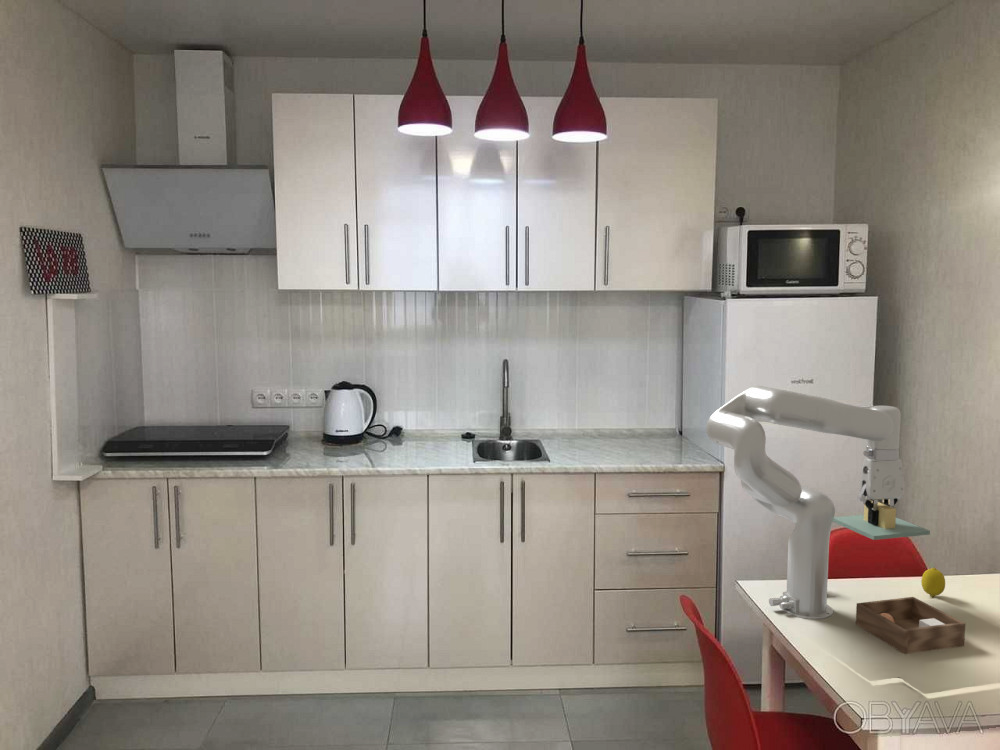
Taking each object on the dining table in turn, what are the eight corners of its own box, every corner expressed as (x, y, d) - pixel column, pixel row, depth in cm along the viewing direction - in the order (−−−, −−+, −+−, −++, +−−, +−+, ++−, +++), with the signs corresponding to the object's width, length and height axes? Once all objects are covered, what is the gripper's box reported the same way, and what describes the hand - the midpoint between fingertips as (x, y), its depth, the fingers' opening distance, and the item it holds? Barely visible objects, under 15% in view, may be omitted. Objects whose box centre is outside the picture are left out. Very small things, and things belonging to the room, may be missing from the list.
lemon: (915, 595, 210) (917, 566, 209) (930, 591, 212) (931, 562, 212) (935, 602, 205) (936, 572, 204) (949, 598, 207) (951, 569, 207)
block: (931, 643, 180) (932, 627, 179) (918, 636, 184) (919, 619, 183) (946, 641, 181) (947, 625, 180) (932, 634, 185) (933, 618, 184)
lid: (873, 539, 195) (874, 516, 194) (831, 521, 211) (832, 499, 210) (929, 534, 199) (931, 511, 198) (883, 516, 215) (884, 494, 214)
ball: (883, 634, 185) (884, 617, 184) (871, 627, 189) (872, 611, 188) (898, 632, 186) (898, 616, 185) (886, 625, 190) (886, 609, 189)
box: (903, 657, 175) (905, 631, 175) (855, 627, 191) (856, 603, 190) (963, 648, 179) (965, 623, 178) (911, 620, 194) (913, 596, 194)
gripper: (864, 459, 197) (861, 530, 199) (920, 455, 201) (916, 525, 203) (845, 452, 204) (842, 522, 206) (898, 449, 208) (895, 517, 210)
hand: (879, 523), depth 205 cm, fingers closed on lid, 3 cm apart
